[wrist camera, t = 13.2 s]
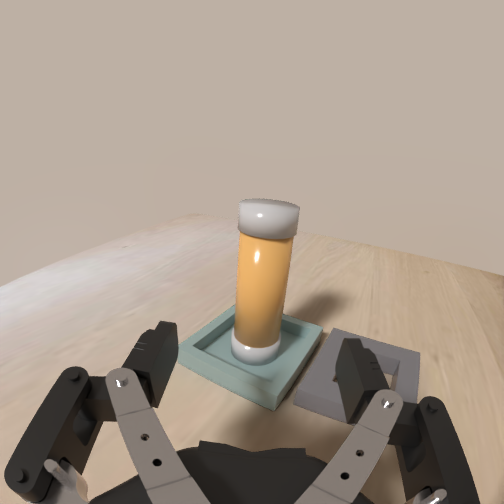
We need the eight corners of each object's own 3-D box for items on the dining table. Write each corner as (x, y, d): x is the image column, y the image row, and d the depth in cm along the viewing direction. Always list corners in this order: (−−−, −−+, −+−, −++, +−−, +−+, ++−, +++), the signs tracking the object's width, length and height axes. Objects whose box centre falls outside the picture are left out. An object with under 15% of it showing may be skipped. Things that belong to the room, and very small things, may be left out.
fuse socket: (329, 342, 29) (333, 327, 28) (413, 367, 24) (420, 352, 24) (293, 404, 21) (297, 388, 20) (403, 438, 16) (413, 424, 15)
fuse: (246, 330, 29) (257, 196, 24) (286, 346, 27) (307, 206, 22) (221, 353, 25) (227, 203, 21) (264, 372, 23) (285, 214, 19)
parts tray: (240, 313, 33) (241, 299, 33) (319, 342, 29) (323, 327, 28) (178, 362, 24) (176, 346, 24) (274, 411, 20) (277, 396, 19)
